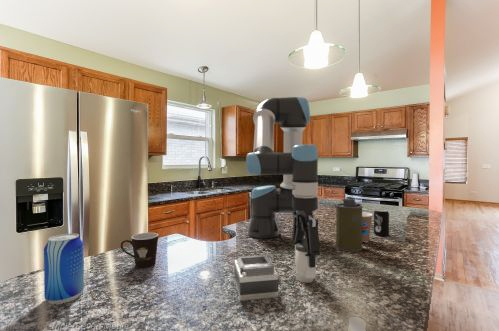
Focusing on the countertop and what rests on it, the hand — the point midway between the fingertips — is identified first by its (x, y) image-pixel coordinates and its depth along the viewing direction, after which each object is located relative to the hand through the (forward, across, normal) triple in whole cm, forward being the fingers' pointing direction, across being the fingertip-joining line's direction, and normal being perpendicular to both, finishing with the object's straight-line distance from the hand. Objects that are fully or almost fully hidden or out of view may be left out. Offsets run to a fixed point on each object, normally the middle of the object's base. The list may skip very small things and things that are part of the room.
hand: (304, 270), depth 81 cm
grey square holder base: (+2, +3, -16) cm, 16 cm away
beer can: (+3, -1, -66) cm, 66 cm away
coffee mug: (+3, -21, -51) cm, 55 cm away
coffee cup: (+3, -32, +39) cm, 51 cm away
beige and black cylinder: (+2, 0, 0) cm, 2 cm away
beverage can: (+3, -38, +54) cm, 66 cm away
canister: (+3, -24, +29) cm, 38 cm away
